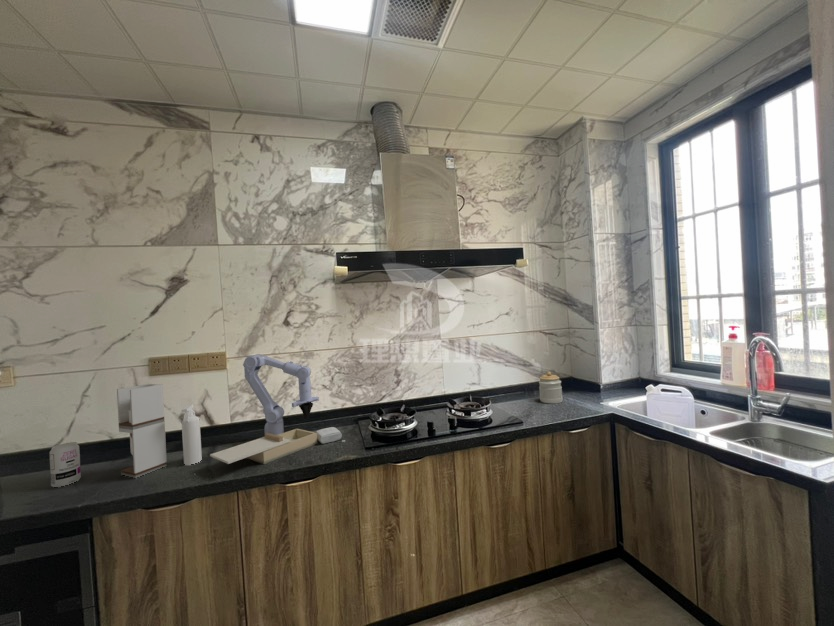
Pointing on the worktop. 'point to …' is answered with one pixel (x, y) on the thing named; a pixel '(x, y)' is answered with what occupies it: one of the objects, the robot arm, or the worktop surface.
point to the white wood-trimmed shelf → (143, 427)
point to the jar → (550, 389)
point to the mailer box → (287, 446)
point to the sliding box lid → (249, 448)
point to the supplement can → (65, 464)
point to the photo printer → (328, 435)
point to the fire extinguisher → (191, 436)
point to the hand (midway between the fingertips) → (306, 418)
